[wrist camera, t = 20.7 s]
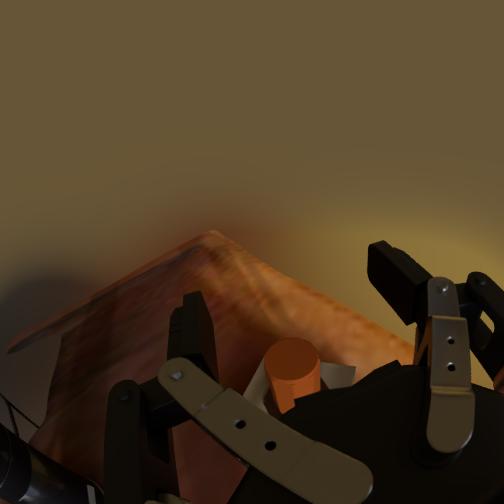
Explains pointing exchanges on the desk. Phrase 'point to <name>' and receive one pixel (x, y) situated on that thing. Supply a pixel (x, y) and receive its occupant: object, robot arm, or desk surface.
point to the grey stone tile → (328, 372)
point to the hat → (291, 374)
